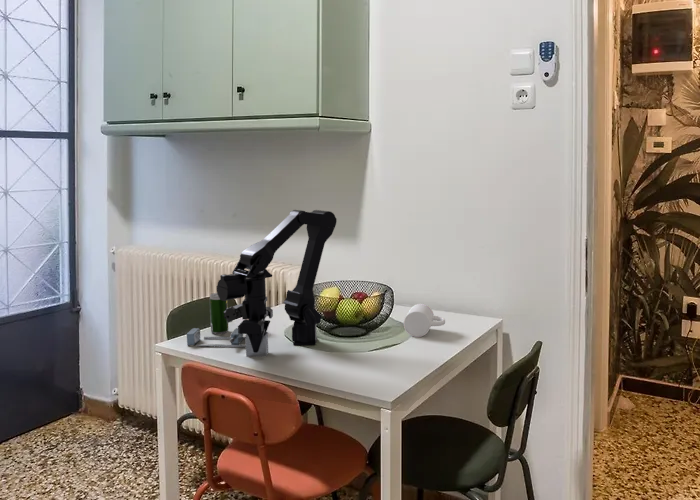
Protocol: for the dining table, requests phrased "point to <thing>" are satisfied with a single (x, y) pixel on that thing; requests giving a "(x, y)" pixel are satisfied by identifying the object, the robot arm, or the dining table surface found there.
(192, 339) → the vise bed
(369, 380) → the dining table surface
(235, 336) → the block
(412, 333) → the mug
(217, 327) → the green soda can
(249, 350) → the steel block
